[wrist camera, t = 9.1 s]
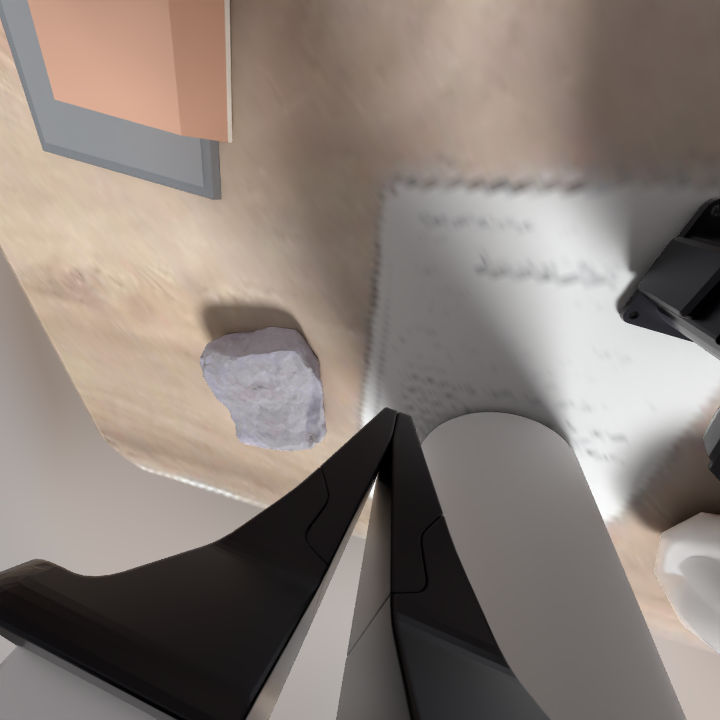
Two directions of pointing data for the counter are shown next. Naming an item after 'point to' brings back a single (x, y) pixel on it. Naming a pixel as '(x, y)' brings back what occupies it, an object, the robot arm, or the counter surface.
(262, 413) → the stone block
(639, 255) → the counter surface
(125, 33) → the salmon orange block
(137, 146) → the slate board
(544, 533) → the cylinder vase
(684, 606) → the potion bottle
